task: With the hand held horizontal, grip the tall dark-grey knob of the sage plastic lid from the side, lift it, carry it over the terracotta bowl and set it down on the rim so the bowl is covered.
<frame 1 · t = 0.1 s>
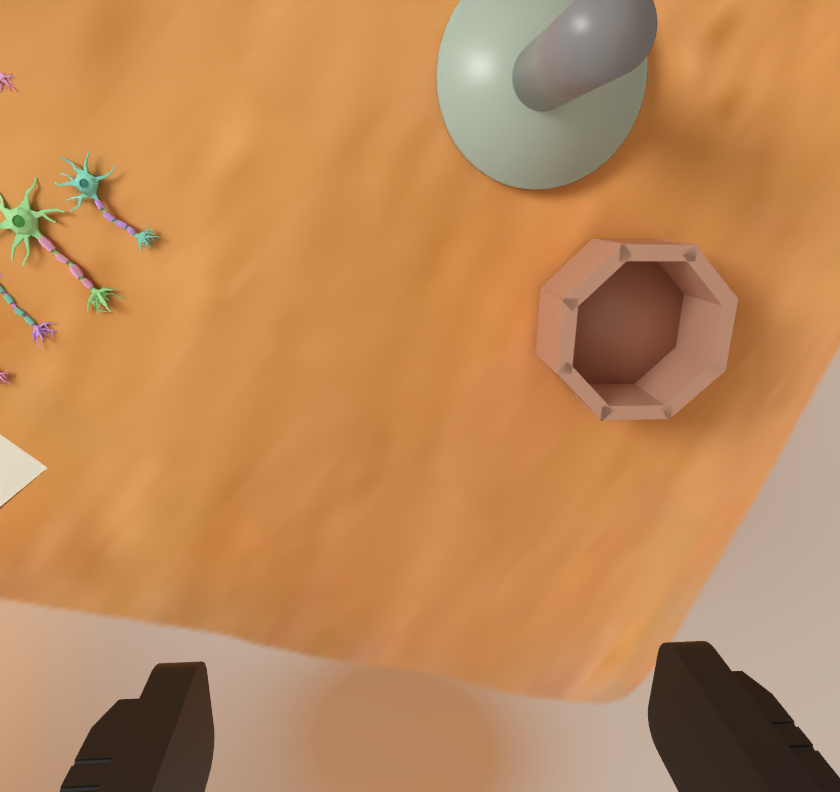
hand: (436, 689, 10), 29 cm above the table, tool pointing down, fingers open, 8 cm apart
bowl: (613, 319, 39), on the table
lid: (539, 79, 34), on the table
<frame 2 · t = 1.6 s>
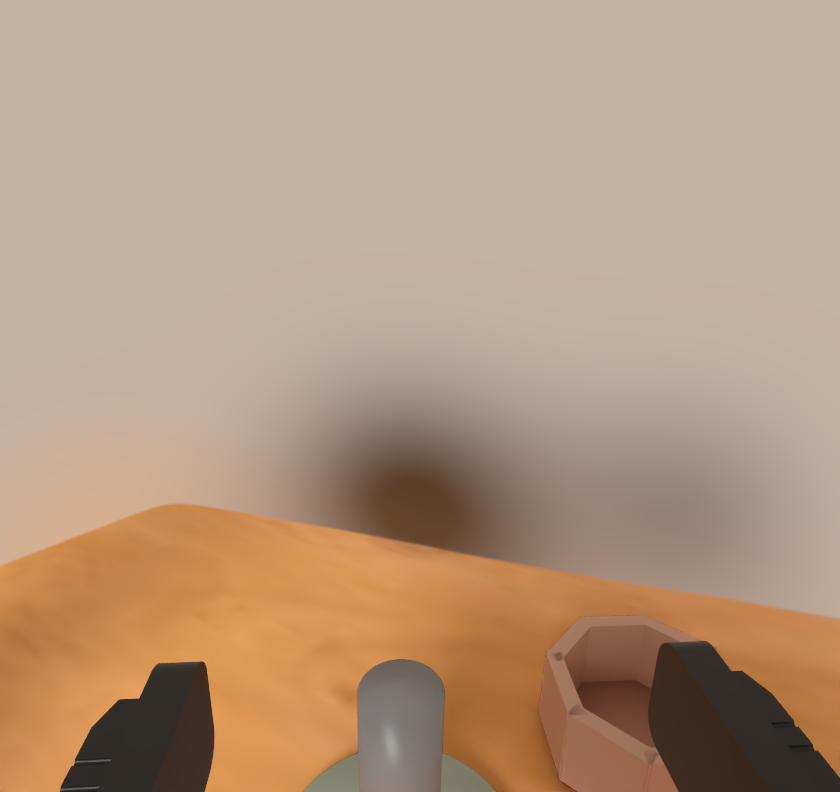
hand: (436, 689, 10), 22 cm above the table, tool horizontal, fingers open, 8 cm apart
bowl: (634, 746, 35), on the table
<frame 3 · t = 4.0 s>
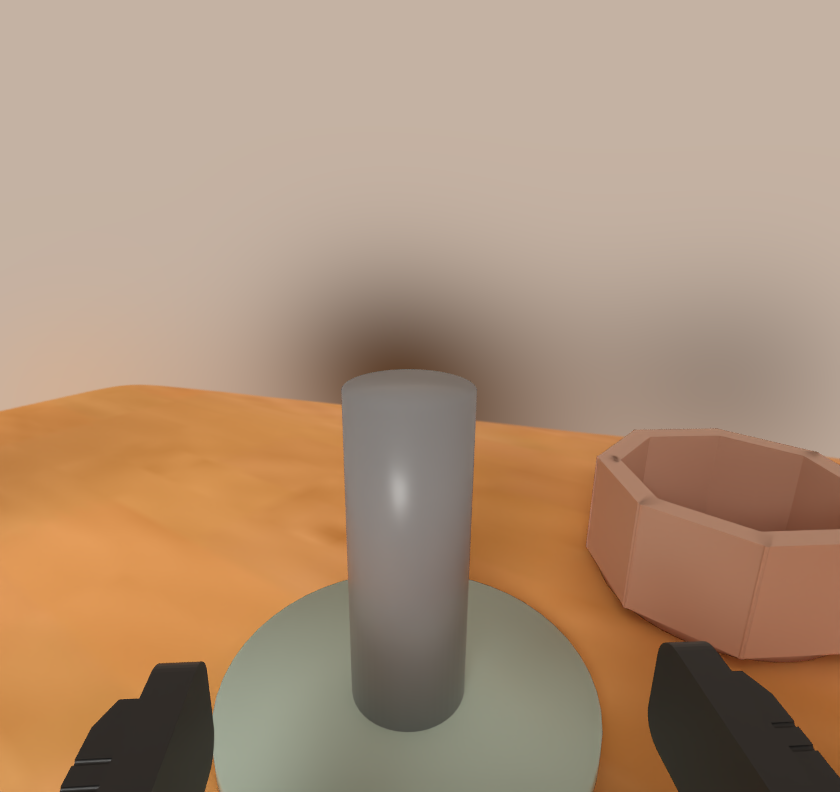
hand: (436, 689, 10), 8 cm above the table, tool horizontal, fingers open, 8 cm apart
bowl: (715, 577, 26), on the table
lid: (408, 708, 19), on the table
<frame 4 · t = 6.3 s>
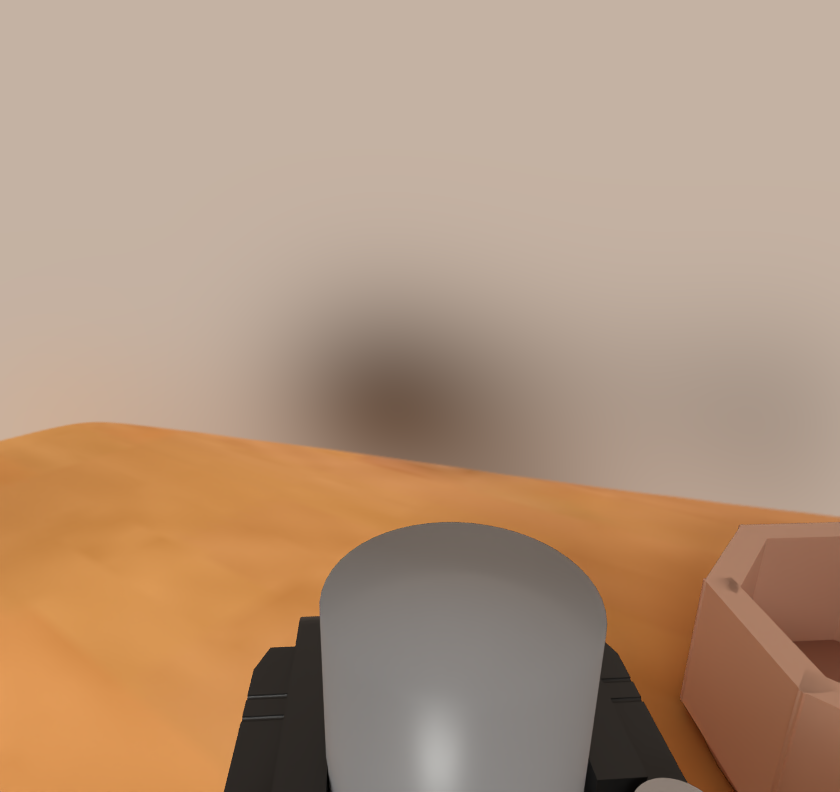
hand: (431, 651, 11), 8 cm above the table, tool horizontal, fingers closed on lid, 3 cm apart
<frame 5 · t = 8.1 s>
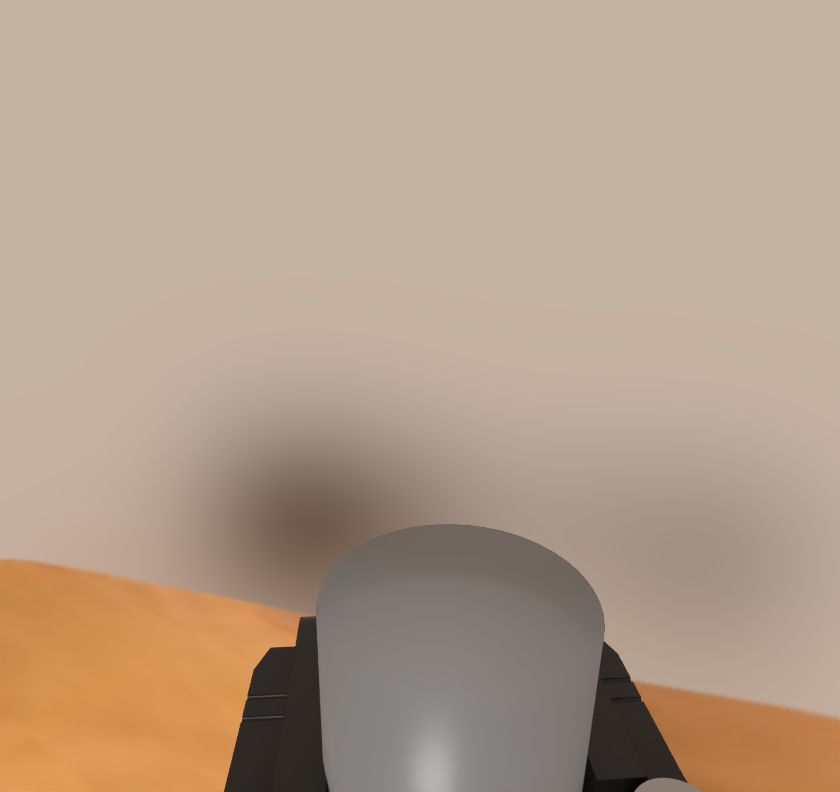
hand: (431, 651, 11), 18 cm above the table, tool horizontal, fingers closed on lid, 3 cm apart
when the fingers open (14 cm above the table, at t = 9.9 s): lid drops 1 cm, resting on bowl.
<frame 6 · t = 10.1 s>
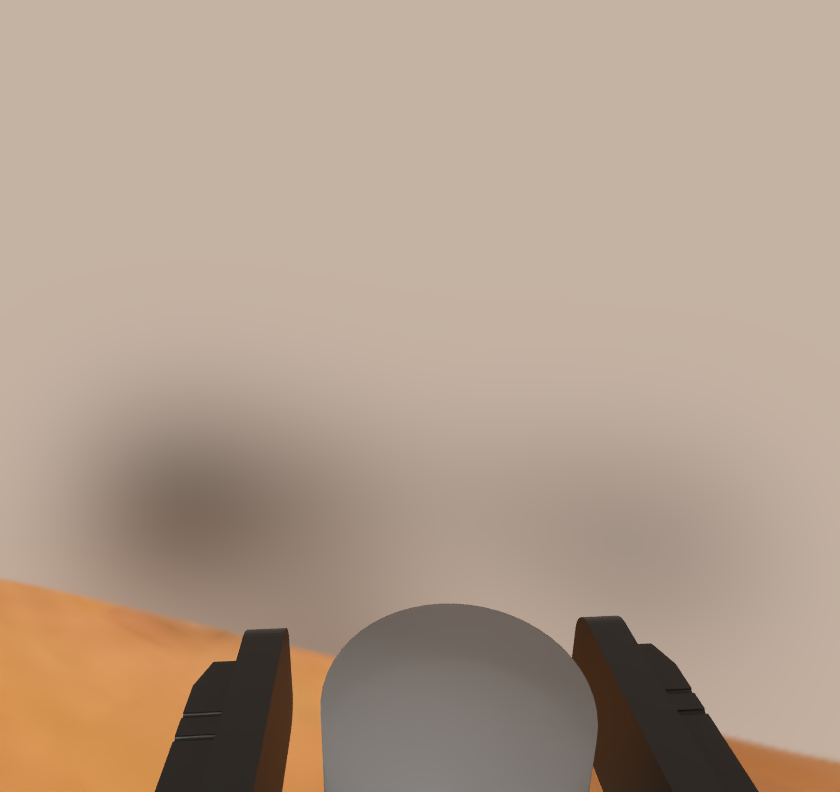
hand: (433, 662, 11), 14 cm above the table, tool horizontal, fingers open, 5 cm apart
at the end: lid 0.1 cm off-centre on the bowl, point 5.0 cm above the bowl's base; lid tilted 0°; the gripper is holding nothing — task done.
